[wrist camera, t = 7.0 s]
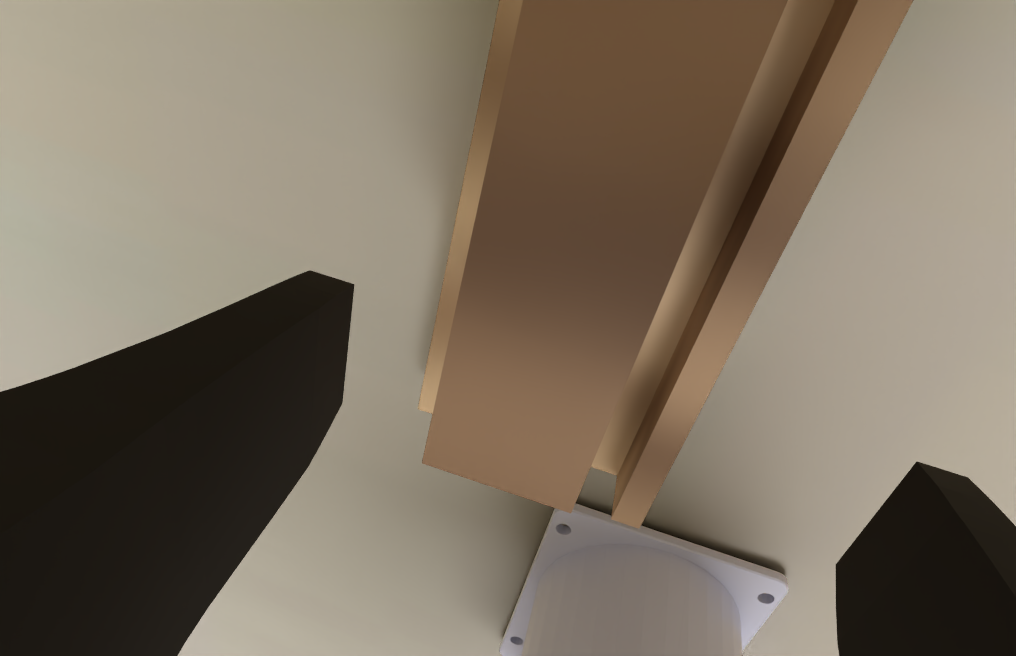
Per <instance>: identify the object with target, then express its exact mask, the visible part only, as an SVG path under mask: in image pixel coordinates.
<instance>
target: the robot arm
mask: <svg viewBox="0 0 1016 656" xmlns="http://www.w3.org/2000/svg"><path fill="white" fill-rule="evenodd" d="M353 292H354V284H351V283H348V282H345V281H342V280H339V279H336V278H332V277H329V276H326V275H323V274H320V273H316V272H313V271H307V272H304V273H302V274H299V275H297V276H294V277H292V278H290V279H287V280H285V281H283V282H280V283H278V284H276V285H274V286H271V287H269V288H267V289H265V290H262V291H260V292H258V293H256V294H254V295H251V296H249V297H247V298H245V299H242V300H240V301H238V302H236V303H233V304H231V305H229V306H227V307H224V308H222V309H220V310H217V311H215V312H213V313H210V314H208V315H206V316H203V317H201V318H199V319H197V320H194V321H192V322H190V323H187V324H185V325H183V326H180V327H178V328H176V329H173V330H171V331H169V332H166V333H164V334H161V335H159V336H156V337H154V338H151V339H148V340H146V341H143V342H141V343H138V344H135V345H133V346H130V347H127V348H125V349H122V350H120V351H117V352H114V353H112V354H109V355H106V356H104V357H101V358H99V359H96V360H93V361H91V362H88V363H86V364H83V365H80V366H78V367H75V368H72V369H70V370H67V371H64V372H61V373H58V374H55V375H52V376H49V377H46V378H43V379H40V380H37V381H34V382H31V383H28V384H25V385H22V386H19V387H16V388H12V389H9V390H5V391H2V392H0V656H177V655H178V654H179V652H180V650H181V649H182V647H183V645H184V643H185V642H186V640H187V639H188V637H189V636H190V634H191V633H192V631H193V630H194V628H195V627H196V625H197V624H198V622H199V621H200V619H201V617H202V616H203V614H204V613H205V611H206V610H207V608H208V607H209V606H210V604H211V603H212V601H213V600H214V599H215V597H216V596H217V594H218V593H219V592H220V590H221V589H222V587H223V586H224V585H225V583H226V582H227V580H228V579H229V578H230V576H231V575H232V573H233V572H234V571H235V569H236V568H237V566H238V565H239V564H240V562H241V561H242V559H243V558H244V557H245V555H246V554H247V552H248V551H249V550H250V548H251V547H252V545H253V544H254V543H255V541H256V540H257V538H258V537H259V536H260V534H261V533H262V531H263V530H264V529H265V527H266V526H267V525H268V523H269V522H270V520H271V519H272V518H273V516H274V515H275V513H276V512H277V510H278V509H279V508H280V506H281V505H282V503H283V502H284V501H285V499H286V498H287V496H288V495H289V493H290V492H291V491H292V489H293V488H294V486H295V485H296V484H297V482H298V481H299V479H300V478H301V476H302V475H303V473H304V472H305V471H306V469H307V468H308V466H309V464H310V463H311V461H312V459H313V457H314V455H315V454H316V452H317V450H318V448H319V446H320V445H321V443H322V441H323V439H324V437H325V435H326V433H327V431H328V430H329V428H330V426H331V424H332V422H333V420H334V418H335V416H336V414H337V412H338V410H339V408H340V407H341V405H342V401H343V391H344V381H345V371H346V362H347V352H348V342H349V332H350V322H351V312H352V302H353ZM561 524H566V525H567V526H563V525H561ZM788 591H789V587H788V580H787V578H786V577H785V576H784V575H783V574H781V573H779V572H777V571H774V570H771V569H768V568H765V567H762V566H759V565H756V564H753V563H750V562H747V561H745V560H742V559H739V558H736V557H733V556H730V555H727V554H724V553H721V552H718V551H715V550H712V549H709V548H706V547H703V546H700V545H697V544H694V543H691V542H688V541H685V540H682V539H679V538H676V537H673V536H671V535H668V534H665V533H662V532H659V531H656V530H653V529H650V528H647V527H644V526H640V528H639V529H638V528H635V527H632V526H629V525H626V524H623V523H620V522H617V521H614V520H611V515H608V514H605V513H602V512H599V511H596V510H594V509H591V508H588V507H585V506H582V505H579V504H576V503H575V505H574V508H573V510H572V512H571V513H568V512H565V511H562V510H559V509H556V508H555V509H554V511H553V514H552V516H551V519H550V521H549V524H548V526H547V529H546V531H545V534H544V536H543V539H542V541H541V544H540V546H539V549H538V551H537V554H536V556H535V559H534V561H533V564H532V566H531V569H530V571H529V574H528V576H527V579H526V581H525V584H524V586H523V589H522V591H521V594H520V596H519V599H518V601H517V604H516V606H515V609H514V611H513V614H512V616H511V619H510V621H509V624H508V627H507V629H506V632H505V634H504V637H503V639H502V642H501V645H500V650H499V652H500V653H501V655H502V656H742V651H743V650H744V649H745V647H746V646H747V645H748V644H749V642H750V641H751V640H752V638H753V637H754V636H755V635H756V633H757V632H758V631H759V629H760V628H761V627H762V626H763V624H764V623H765V622H766V620H767V619H768V618H769V617H770V615H771V614H772V613H773V611H774V610H775V609H776V608H777V606H778V605H779V604H780V602H781V601H782V600H783V598H784V597H785V596H786V595H787V593H788ZM765 593H767V594H765ZM836 617H837V640H838V649H839V656H1016V526H1015V525H1014V524H1013V523H1012V522H1011V521H1010V520H1009V519H1008V518H1007V516H1006V515H1005V514H1004V513H1003V512H1002V511H1001V510H1000V509H999V508H998V507H997V506H996V505H995V504H994V503H993V502H992V501H991V500H990V499H989V498H988V497H987V496H986V495H985V494H984V493H983V492H982V491H981V490H980V489H979V488H978V487H977V486H976V485H975V484H974V483H973V482H972V481H971V480H970V479H969V478H968V477H964V476H961V475H958V474H955V473H952V472H949V471H945V470H942V469H939V468H936V467H933V466H930V465H926V464H923V463H920V462H916V463H915V464H914V466H913V467H912V468H911V470H910V471H909V472H908V473H907V475H906V476H905V477H904V478H903V480H902V481H901V482H900V484H899V485H898V486H897V487H896V489H895V490H894V491H893V492H892V494H891V495H890V496H889V498H888V499H887V500H886V501H885V503H884V504H883V505H882V506H881V508H880V509H879V510H878V512H877V513H876V514H875V515H874V517H873V518H872V519H871V521H870V522H869V523H868V524H867V526H866V527H865V528H864V529H863V531H862V532H861V533H860V535H859V536H858V537H857V538H856V540H855V541H854V542H853V543H852V545H851V546H850V547H849V549H848V550H847V551H846V552H845V554H844V555H843V556H842V557H841V559H840V560H839V561H838V563H837V564H836Z"/></svg>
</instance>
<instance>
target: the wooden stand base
mask: <svg viewBox="0 0 1016 656" xmlns="http://www.w3.org/2000/svg"><path fill="white" fill-rule="evenodd" d="M912 2H913V0H788V1H787V4H786V6H785V8H784V11H783V13H782V16H781V18H780V20H779V23H778V25H777V27H776V30H775V32H774V34H773V37H772V39H771V42H770V44H769V46H768V49H767V51H766V53H765V56H764V58H763V60H762V63H761V65H760V68H759V70H758V72H757V75H756V77H755V79H754V82H753V84H752V87H751V89H750V91H749V94H748V96H747V98H746V101H745V103H744V105H743V108H742V110H741V113H740V115H739V117H738V120H737V122H736V124H735V127H734V129H733V131H732V134H731V136H730V139H729V141H728V143H727V146H726V148H725V150H724V153H723V155H722V157H721V160H720V162H719V165H718V167H717V169H716V172H715V174H714V176H713V179H712V181H711V184H710V186H709V188H708V191H707V193H706V195H705V198H704V200H703V202H702V205H701V207H700V210H699V212H698V214H697V217H696V219H695V221H694V224H693V226H692V228H691V231H690V233H689V236H688V238H687V240H686V243H685V245H684V247H683V250H682V252H681V255H680V257H679V259H678V262H677V264H676V266H675V269H674V271H673V273H672V276H671V278H670V281H669V283H668V285H667V288H666V290H665V292H664V295H663V297H662V299H661V302H660V304H659V307H658V309H657V311H656V314H655V316H654V318H653V321H652V323H651V325H650V328H649V330H648V333H647V335H646V337H645V340H644V342H643V344H642V347H641V349H640V352H639V354H638V356H637V359H636V361H635V363H634V366H633V368H632V370H631V373H630V375H629V378H628V380H627V382H626V385H625V387H624V389H623V392H622V394H621V396H620V399H619V401H618V404H617V406H616V408H615V411H614V413H613V415H612V418H611V420H610V423H609V425H608V427H607V430H606V432H605V434H604V437H603V439H602V441H601V444H600V446H599V449H598V451H597V453H596V456H595V458H594V460H593V463H592V465H591V467H593V468H596V469H599V470H602V471H605V472H608V473H611V474H614V475H617V481H616V488H615V495H614V502H613V509H612V516H611V520H614V521H617V522H620V523H623V524H626V525H629V526H632V527H635V528H638V529H639V528H640V526H641V524H642V522H643V520H644V519H645V517H646V515H647V513H648V511H649V509H650V507H651V505H652V503H653V501H654V499H655V497H656V495H657V493H658V492H659V490H660V488H661V486H662V484H663V482H664V480H665V478H666V476H667V474H668V472H669V470H670V468H671V466H672V465H673V463H674V461H675V459H676V457H677V455H678V453H679V451H680V449H681V447H682V445H683V443H684V441H685V440H686V438H687V436H688V434H689V432H690V430H691V428H692V426H693V424H694V422H695V420H696V418H697V416H698V414H699V413H700V411H701V409H702V407H703V405H704V403H705V401H706V399H707V397H708V395H709V393H710V391H711V389H712V387H713V386H714V384H715V382H716V380H717V378H718V376H719V374H720V372H721V370H722V368H723V366H724V364H725V362H726V360H727V359H728V357H729V355H730V353H731V351H732V349H733V347H734V345H735V343H736V341H737V339H738V337H739V335H740V334H741V332H742V330H743V328H744V326H745V324H746V322H747V320H748V318H749V316H750V314H751V312H752V310H753V308H754V307H755V305H756V303H757V301H758V299H759V297H760V295H761V293H762V291H763V289H764V287H765V285H766V283H767V281H768V280H769V278H770V276H771V274H772V272H773V270H774V268H775V266H776V264H777V262H778V260H779V258H780V256H781V254H782V253H783V251H784V249H785V247H786V245H787V243H788V241H789V239H790V237H791V235H792V233H793V231H794V229H795V228H796V226H797V224H798V222H799V220H800V218H801V216H802V214H803V212H804V210H805V208H806V206H807V204H808V202H809V201H810V199H811V197H812V195H813V193H814V191H815V189H816V187H817V185H818V183H819V181H820V179H821V177H822V175H823V174H824V172H825V170H826V168H827V166H828V164H829V162H830V160H831V158H832V156H833V154H834V152H835V150H836V149H837V147H838V145H839V143H840V141H841V139H842V137H843V135H844V133H845V131H846V129H847V127H848V125H849V123H850V122H851V120H852V118H853V116H854V114H855V112H856V110H857V108H858V106H859V104H860V102H861V100H862V98H863V96H864V95H865V93H866V91H867V89H868V87H869V85H870V83H871V81H872V79H873V77H874V75H875V73H876V71H877V69H878V68H879V66H880V64H881V62H882V60H883V58H884V56H885V54H886V52H887V50H888V48H889V46H890V44H891V43H892V41H893V39H894V37H895V35H896V33H897V31H898V29H899V27H900V25H901V23H902V21H903V19H904V17H905V16H906V14H907V12H908V10H909V8H910V6H911V4H912ZM522 3H523V0H499V5H498V10H497V15H496V20H495V25H494V30H493V35H492V40H491V45H490V50H489V55H488V60H487V65H486V70H485V75H484V80H483V85H482V90H481V95H480V100H479V105H478V110H477V115H476V120H475V125H474V130H473V135H472V140H471V145H470V150H469V155H468V160H467V165H466V170H465V175H464V180H463V185H462V190H461V195H460V200H459V205H458V210H457V215H456V220H455V225H454V230H453V235H452V240H451V245H450V250H449V255H448V260H447V265H446V270H445V275H444V280H443V285H442V290H441V295H440V300H439V305H438V310H437V315H436V320H435V325H434V330H433V335H432V340H431V345H430V350H429V355H428V360H427V365H426V370H425V375H424V380H423V385H422V390H421V395H420V400H419V405H418V409H419V410H422V411H425V412H428V413H431V414H433V410H434V405H435V401H436V396H437V392H438V387H439V382H440V378H441V373H442V369H443V364H444V360H445V355H446V350H447V346H448V341H449V337H450V332H451V327H452V323H453V318H454V314H455V309H456V305H457V300H458V295H459V291H460V286H461V282H462V277H463V273H464V268H465V263H466V259H467V254H468V250H469V245H470V241H471V236H472V231H473V227H474V222H475V218H476V213H477V209H478V204H479V199H480V195H481V190H482V186H483V181H484V176H485V172H486V167H487V163H488V158H489V154H490V149H491V144H492V140H493V135H494V131H495V126H496V122H497V117H498V112H499V108H500V103H501V99H502V94H503V90H504V85H505V80H506V76H507V71H508V67H509V62H510V58H511V53H512V48H513V44H514V39H515V35H516V30H517V25H518V21H519V16H520V12H521V7H522Z"/></svg>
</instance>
